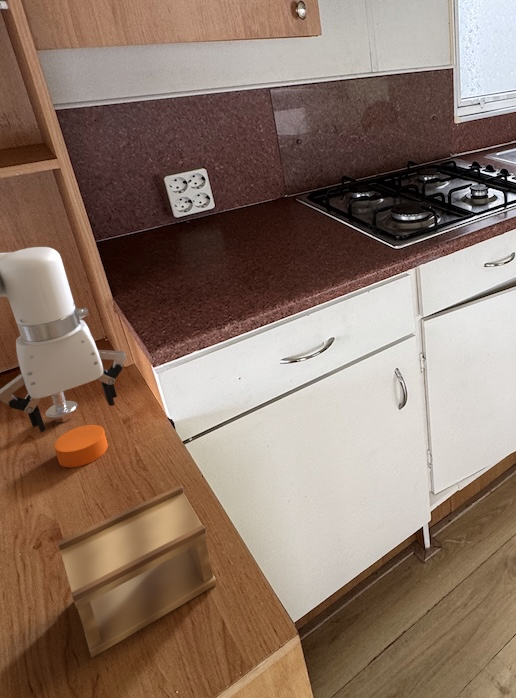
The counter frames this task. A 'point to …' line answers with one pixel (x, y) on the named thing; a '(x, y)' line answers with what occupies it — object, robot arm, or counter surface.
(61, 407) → the screw
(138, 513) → the gold metallic block
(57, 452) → the puck
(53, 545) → the counter surface
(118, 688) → the counter surface
